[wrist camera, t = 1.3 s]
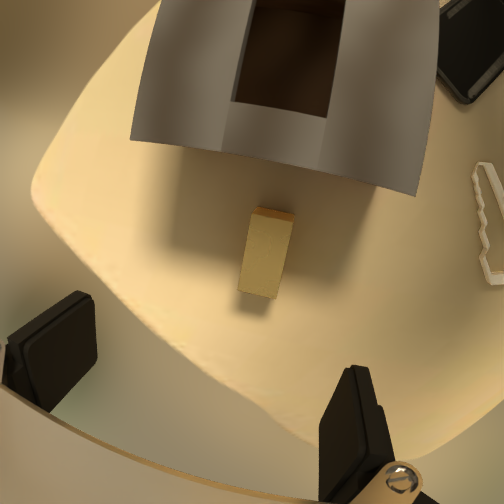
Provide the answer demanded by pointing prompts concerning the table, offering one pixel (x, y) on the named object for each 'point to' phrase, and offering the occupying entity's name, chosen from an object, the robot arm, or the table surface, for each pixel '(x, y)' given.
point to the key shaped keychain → (500, 194)
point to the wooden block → (265, 252)
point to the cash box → (296, 83)
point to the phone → (470, 47)
